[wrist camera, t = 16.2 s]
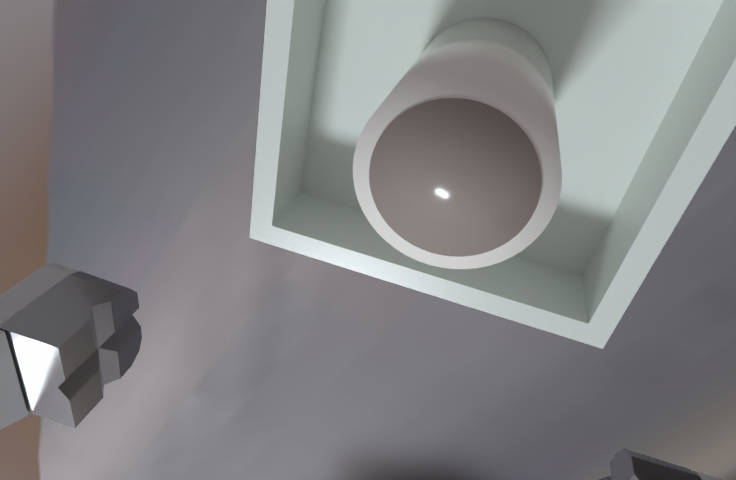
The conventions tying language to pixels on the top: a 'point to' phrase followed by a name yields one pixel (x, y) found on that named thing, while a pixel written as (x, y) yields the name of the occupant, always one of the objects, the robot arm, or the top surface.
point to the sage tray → (575, 133)
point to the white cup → (464, 149)
